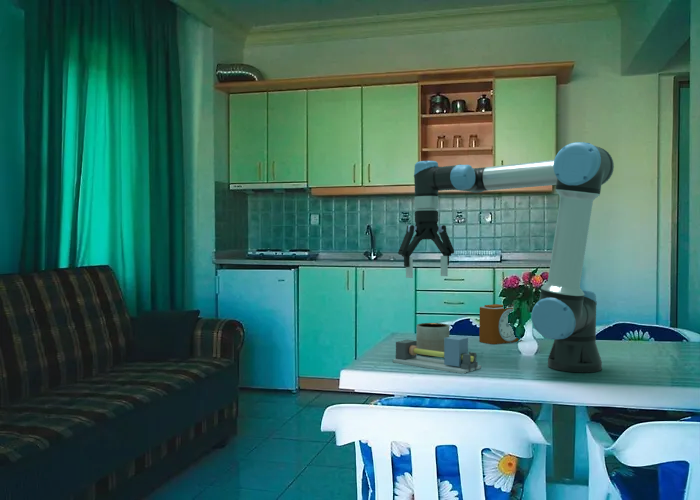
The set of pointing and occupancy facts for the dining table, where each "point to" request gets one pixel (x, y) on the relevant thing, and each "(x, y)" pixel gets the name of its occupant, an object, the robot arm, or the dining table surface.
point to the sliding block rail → (408, 352)
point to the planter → (431, 336)
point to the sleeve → (455, 350)
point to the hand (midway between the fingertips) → (427, 276)
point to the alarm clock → (495, 325)
